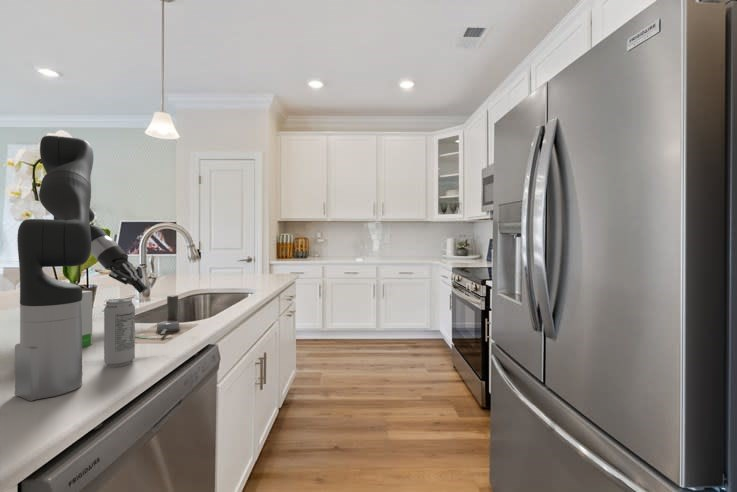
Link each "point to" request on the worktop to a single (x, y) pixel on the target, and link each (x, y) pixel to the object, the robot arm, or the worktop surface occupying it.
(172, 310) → the tuning peg
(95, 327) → the worktop surface
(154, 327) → the tuner board
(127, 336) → the energy drink can
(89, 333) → the skincare box
